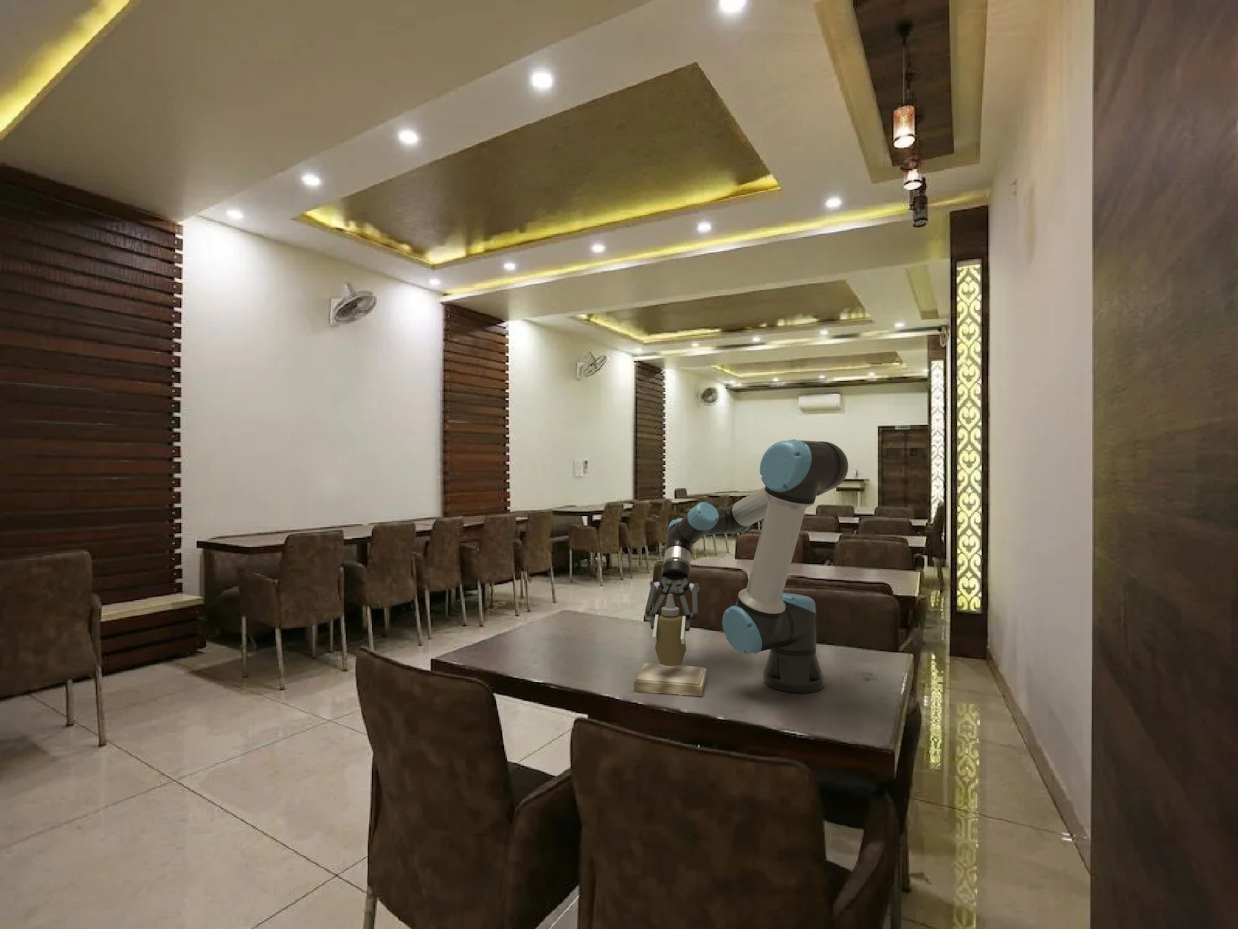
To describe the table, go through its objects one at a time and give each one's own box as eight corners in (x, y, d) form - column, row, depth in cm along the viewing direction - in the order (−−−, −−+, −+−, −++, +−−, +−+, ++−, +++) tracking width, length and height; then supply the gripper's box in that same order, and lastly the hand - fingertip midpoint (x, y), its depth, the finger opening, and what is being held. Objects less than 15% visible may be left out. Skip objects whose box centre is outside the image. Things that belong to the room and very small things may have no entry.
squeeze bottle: (661, 669, 148) (660, 598, 148) (651, 660, 156) (650, 592, 156) (691, 666, 150) (690, 596, 150) (679, 657, 158) (679, 590, 158)
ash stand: (706, 678, 157) (706, 666, 158) (701, 697, 144) (701, 684, 144) (644, 673, 161) (644, 662, 161) (633, 691, 148) (633, 679, 148)
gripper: (711, 575, 166) (707, 650, 150) (644, 573, 170) (633, 645, 154) (710, 559, 161) (705, 635, 145) (641, 557, 165) (629, 630, 149)
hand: (668, 640), depth 150 cm, fingers closed on squeeze bottle, 6 cm apart
